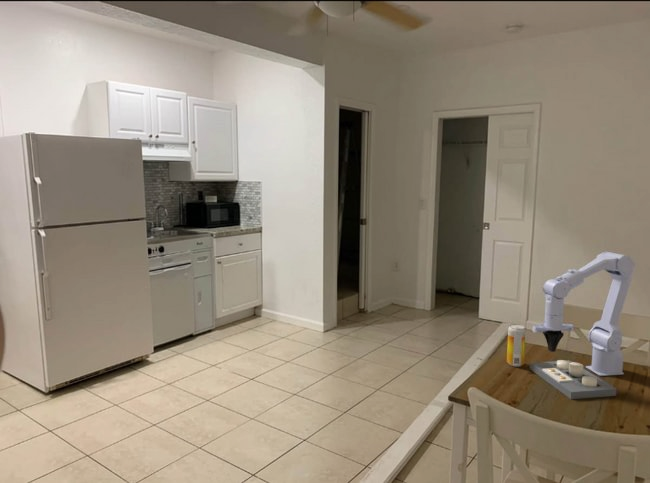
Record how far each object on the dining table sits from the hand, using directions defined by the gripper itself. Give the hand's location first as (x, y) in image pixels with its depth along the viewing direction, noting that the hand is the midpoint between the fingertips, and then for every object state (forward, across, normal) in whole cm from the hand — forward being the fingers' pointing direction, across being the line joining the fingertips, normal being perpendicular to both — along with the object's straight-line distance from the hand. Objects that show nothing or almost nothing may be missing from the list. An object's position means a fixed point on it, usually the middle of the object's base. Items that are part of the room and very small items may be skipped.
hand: (551, 350), depth 165 cm
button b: (+8, -7, +4) cm, 11 cm away
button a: (+10, -7, -3) cm, 12 cm away
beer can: (+10, +6, -13) cm, 18 cm away
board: (+10, -5, +4) cm, 12 cm away
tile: (+8, 0, +4) cm, 9 cm away
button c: (+10, -7, +11) cm, 16 cm away
